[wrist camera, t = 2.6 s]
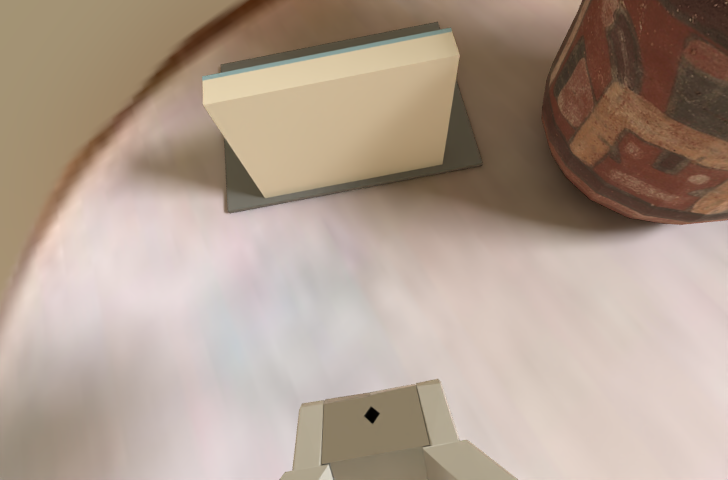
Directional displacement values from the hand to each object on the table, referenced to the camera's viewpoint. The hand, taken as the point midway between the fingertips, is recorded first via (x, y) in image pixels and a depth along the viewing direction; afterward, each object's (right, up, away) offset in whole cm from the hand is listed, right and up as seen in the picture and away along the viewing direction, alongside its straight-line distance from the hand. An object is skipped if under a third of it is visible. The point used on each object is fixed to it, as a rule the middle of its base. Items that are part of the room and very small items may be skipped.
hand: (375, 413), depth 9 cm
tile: (-1, +9, +24) cm, 26 cm away
